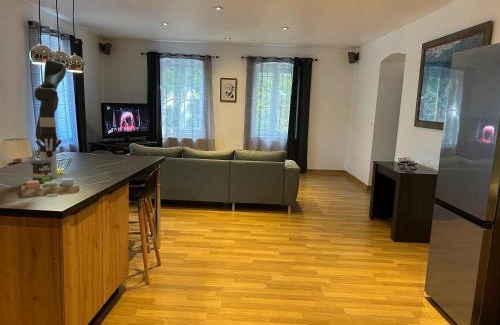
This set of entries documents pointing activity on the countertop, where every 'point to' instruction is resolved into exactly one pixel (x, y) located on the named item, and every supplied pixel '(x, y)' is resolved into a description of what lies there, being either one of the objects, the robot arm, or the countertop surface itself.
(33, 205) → the countertop surface
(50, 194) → the tile
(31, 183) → the terracotta button
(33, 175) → the coffee can
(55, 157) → the robot arm
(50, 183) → the sage button
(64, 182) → the blue-grey button
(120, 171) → the countertop surface
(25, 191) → the console
